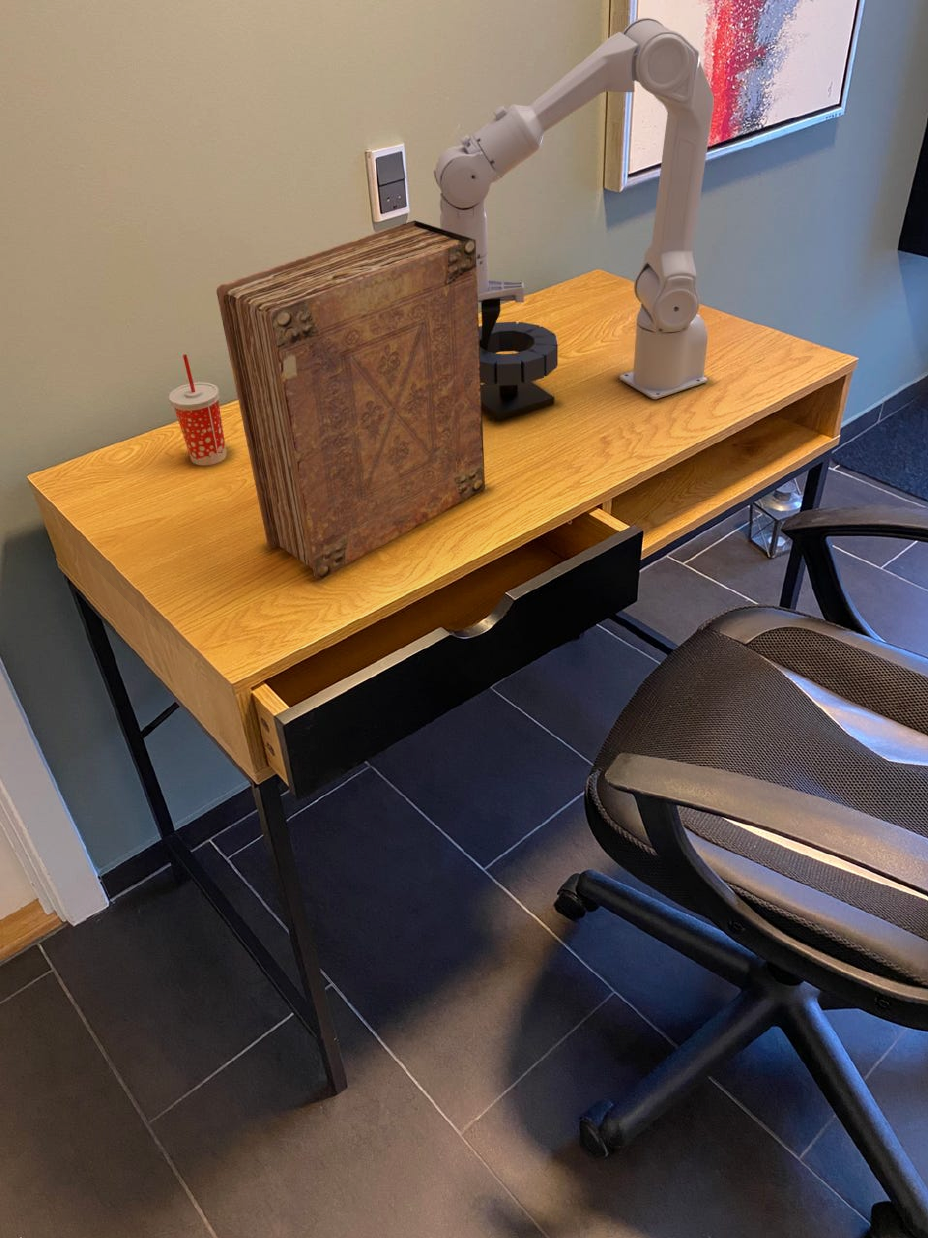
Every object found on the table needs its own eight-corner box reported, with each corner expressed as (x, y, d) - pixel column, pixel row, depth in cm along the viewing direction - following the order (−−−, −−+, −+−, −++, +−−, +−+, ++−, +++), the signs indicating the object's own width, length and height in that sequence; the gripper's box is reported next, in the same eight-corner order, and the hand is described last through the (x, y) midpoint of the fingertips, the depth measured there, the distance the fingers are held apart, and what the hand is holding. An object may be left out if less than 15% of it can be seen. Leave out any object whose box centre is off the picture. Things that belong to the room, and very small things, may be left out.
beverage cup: (215, 439, 133) (192, 340, 124) (242, 455, 129) (220, 353, 120) (176, 457, 130) (149, 356, 121) (202, 473, 126) (176, 371, 117)
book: (315, 582, 107) (267, 312, 88) (267, 547, 113) (212, 287, 94) (486, 489, 120) (476, 236, 101) (435, 462, 125) (417, 217, 106)
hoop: (522, 334, 141) (522, 313, 139) (576, 367, 132) (576, 346, 130) (440, 358, 136) (439, 337, 134) (491, 394, 127) (490, 372, 125)
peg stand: (519, 380, 142) (518, 342, 138) (554, 404, 136) (554, 365, 132) (464, 397, 139) (462, 359, 135) (498, 422, 133) (497, 383, 129)
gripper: (405, 266, 122) (414, 370, 130) (524, 261, 121) (525, 365, 130) (408, 246, 127) (416, 347, 136) (521, 241, 127) (523, 342, 135)
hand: (469, 354), depth 133 cm, fingers closed on hoop, 3 cm apart
